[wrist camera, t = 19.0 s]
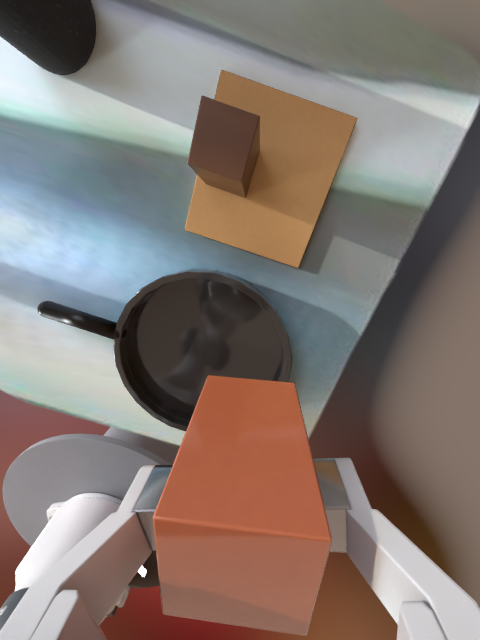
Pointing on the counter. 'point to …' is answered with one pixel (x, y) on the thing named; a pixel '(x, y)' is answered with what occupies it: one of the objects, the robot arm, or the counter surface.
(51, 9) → the travel mug
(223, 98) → the mat
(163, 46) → the counter surface
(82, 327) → the pan handle
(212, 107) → the walnut block
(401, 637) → the robot arm
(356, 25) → the counter surface
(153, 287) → the pan
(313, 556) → the terracotta block
